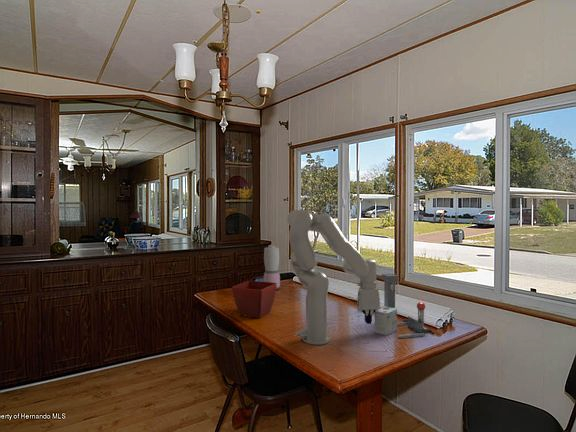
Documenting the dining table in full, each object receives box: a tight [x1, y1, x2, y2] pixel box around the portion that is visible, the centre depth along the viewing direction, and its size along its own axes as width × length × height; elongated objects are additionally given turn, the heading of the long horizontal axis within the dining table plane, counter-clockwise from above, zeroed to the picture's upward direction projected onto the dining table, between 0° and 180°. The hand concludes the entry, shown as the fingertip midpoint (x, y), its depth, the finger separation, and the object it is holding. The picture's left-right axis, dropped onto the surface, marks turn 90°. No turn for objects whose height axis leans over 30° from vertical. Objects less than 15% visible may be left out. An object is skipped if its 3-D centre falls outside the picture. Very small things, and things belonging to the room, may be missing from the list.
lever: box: [416, 301, 427, 330], centre depth 172 cm, size 4×5×13 cm
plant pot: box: [231, 280, 277, 319], centre depth 198 cm, size 19×19×17 cm
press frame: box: [381, 273, 425, 339], centre depth 174 cm, size 14×24×25 cm, turn 11°
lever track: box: [402, 318, 435, 336], centre depth 175 cm, size 6×20×1 cm, turn 11°
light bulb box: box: [374, 306, 398, 336], centre depth 170 cm, size 11×7×11 cm, turn 136°
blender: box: [263, 245, 281, 290], centre depth 261 cm, size 16×12×32 cm
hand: (368, 323), depth 168 cm, fingers closed
